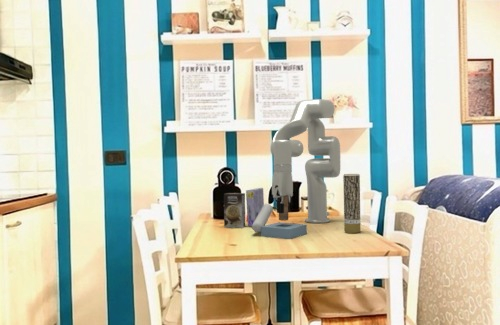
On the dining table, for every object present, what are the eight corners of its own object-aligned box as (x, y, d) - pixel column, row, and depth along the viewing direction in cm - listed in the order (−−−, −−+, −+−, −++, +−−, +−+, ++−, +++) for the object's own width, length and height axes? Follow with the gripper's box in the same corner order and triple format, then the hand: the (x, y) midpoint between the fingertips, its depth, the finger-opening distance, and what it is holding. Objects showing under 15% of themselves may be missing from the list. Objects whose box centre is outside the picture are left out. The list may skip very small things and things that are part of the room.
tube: (265, 226, 192) (275, 207, 215) (253, 220, 192) (265, 201, 216) (259, 236, 193) (269, 216, 217) (248, 230, 194) (260, 210, 217)
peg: (282, 219, 197) (281, 191, 197) (290, 219, 195) (289, 191, 195) (277, 220, 194) (276, 191, 194) (285, 220, 191) (284, 191, 191)
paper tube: (347, 230, 202) (346, 173, 202) (362, 231, 199) (361, 173, 199) (342, 233, 197) (341, 174, 196) (357, 234, 193) (356, 174, 193)
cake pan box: (256, 221, 237) (255, 187, 236) (265, 221, 235) (265, 187, 235) (246, 227, 218) (245, 190, 218) (256, 227, 217) (255, 190, 216)
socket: (279, 231, 204) (279, 222, 204) (306, 233, 196) (306, 224, 196) (261, 236, 193) (260, 226, 193) (289, 239, 185) (289, 229, 185)
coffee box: (223, 227, 217) (223, 193, 217) (227, 225, 224) (226, 192, 223) (242, 228, 215) (241, 193, 215) (245, 226, 221) (245, 192, 221)
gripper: (285, 168, 203) (286, 210, 203) (264, 169, 190) (264, 214, 190) (300, 168, 199) (301, 211, 199) (279, 169, 185) (280, 215, 185)
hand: (283, 212), depth 194 cm, fingers closed on peg, 4 cm apart
